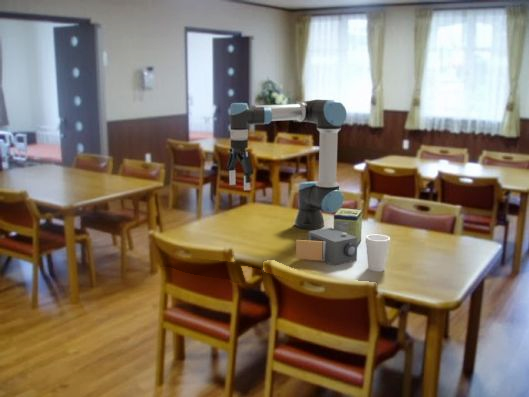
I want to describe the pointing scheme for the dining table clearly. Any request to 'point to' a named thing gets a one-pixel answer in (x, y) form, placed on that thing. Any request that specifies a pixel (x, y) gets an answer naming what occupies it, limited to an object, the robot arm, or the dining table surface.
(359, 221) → the protein box
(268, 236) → the dining table surface
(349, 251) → the camera body
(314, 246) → the side door
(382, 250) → the foam cup
